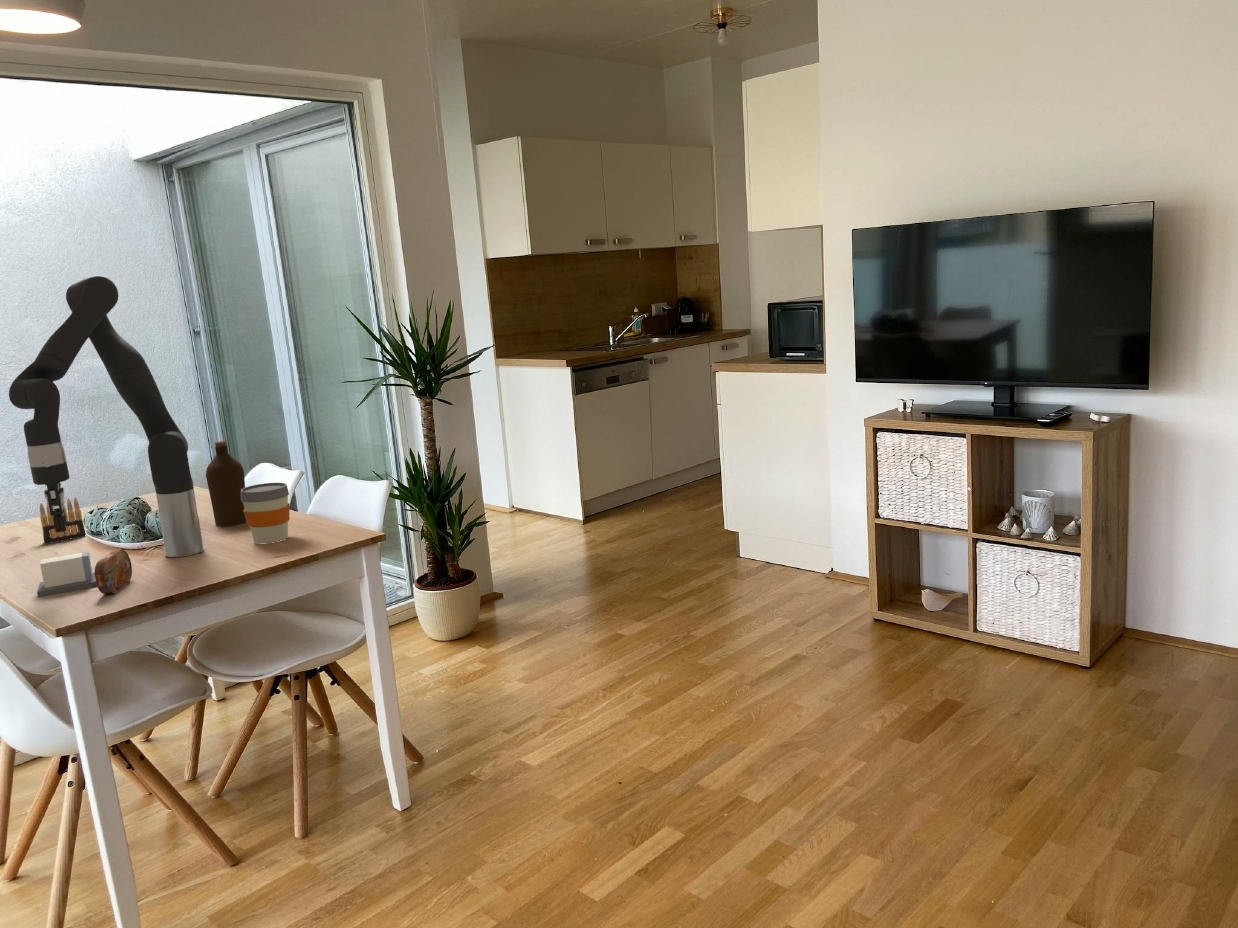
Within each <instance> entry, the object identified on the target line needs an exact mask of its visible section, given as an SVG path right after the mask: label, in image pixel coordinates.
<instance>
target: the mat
mask: <svg viewBox="0 0 1238 928" xmlns="http://www.w3.org/2000/svg"><path fill="white" fill-rule="evenodd" d="M93 587H98V586H97V582H96V578H95V574H94V572H93V580H88V581H81V582H75V583H70V584H64V585H59V586H53V587H48V588H45V587H44V581H40V582H39V584H38V587H37V590H36V594H37V597H38V598H39V597H45V596H50V595H53V594H54V595H55V594H60V593H66V592H71V591H77V590H82V589H83V590H84V589H88V588H93Z"/></svg>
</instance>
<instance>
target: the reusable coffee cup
mask: <svg viewBox="0 0 1238 928" xmlns="http://www.w3.org/2000/svg"><path fill="white" fill-rule="evenodd" d="M289 495H290V492H289V488H288V485H287V483H285V482H265V483H259V484H252V485H249V486H245V488H243V489H241V501H242V502H243V505H244V508H245V509H244V514H245V518H246V521H247V522H246V526H247V527H249V529H250V532H251V537H252V540H253V543H254V544H255V543H272V542H277V541H280V540H284V539H286V538H287V537H289V521H290V503H289ZM287 539H288V538H287ZM287 539H286V540H287ZM284 541H285V540H284ZM277 543H278V542H277ZM272 544H273V543H272Z"/></svg>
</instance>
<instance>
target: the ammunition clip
mask: <svg viewBox="0 0 1238 928" xmlns="http://www.w3.org/2000/svg"><path fill="white" fill-rule="evenodd" d="M66 501H67V503H66V504H67V506H66V507H67V509H66V508H65V509H64V510H65V515H66V520H67V524H65V525H66V531H64V532H58V533H57V532H56V531H55V526H54V521H53V517H52V516H51V515H50V510H49V509H48V506H47V505H46V511H45V507H44V505H43V503H42V502H40V503H39V513H40V515H39V516H40V523H41V528H42V536H43V542H44V544H45V543H48V544H52V543H51V542H53V543H57V541H58V542H62V541H61V540H64V541H69V540H71V539H70V538H74V539H78V538H77V537H80V538H83V536H85V535H86V536H87V534H86V529H85V525H84V520H83V514H82V510H81V508H80V504H79V501H78V499H77V497H74V498H73V505H74V506H73V505H72V501H71V499H70V498H67V500H66ZM73 507H74V508H73ZM53 511H55V510H53ZM46 514H47V515H46ZM86 536H85V537H86ZM68 539H69V540H68Z"/></svg>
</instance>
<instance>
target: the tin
mask: <svg viewBox="0 0 1238 928" xmlns="http://www.w3.org/2000/svg"><path fill="white" fill-rule="evenodd" d="M93 573H94V574H95V578H96V582H97V586H96V587H97V590H98V591H99V592H100V593H101V594H102V595H109V594H117V593H119V591H120V590H122V589H123V588H124V587H125V586H127V584H129V583H130V582H131V579H132V575H133V567H132V563H131V557H130V556H129V553H127V551H125V550H124V549H120V550H114V551H111V552H109V553H107V554H106V555H105V556H104V557H103V558H100V559H99V560H98V561H97V562H96V564H95V566H94V572H93Z"/></svg>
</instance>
